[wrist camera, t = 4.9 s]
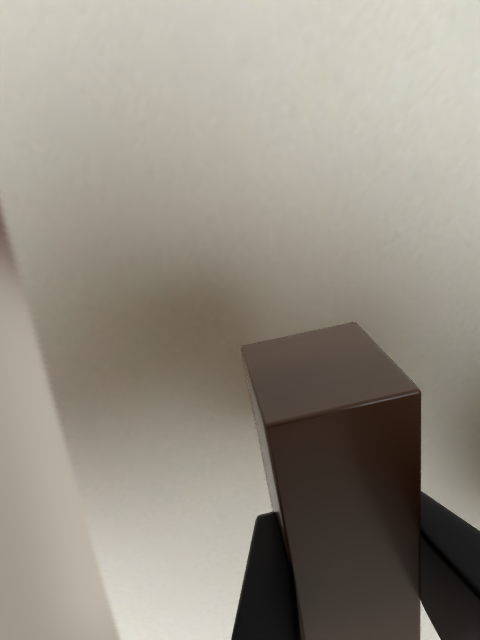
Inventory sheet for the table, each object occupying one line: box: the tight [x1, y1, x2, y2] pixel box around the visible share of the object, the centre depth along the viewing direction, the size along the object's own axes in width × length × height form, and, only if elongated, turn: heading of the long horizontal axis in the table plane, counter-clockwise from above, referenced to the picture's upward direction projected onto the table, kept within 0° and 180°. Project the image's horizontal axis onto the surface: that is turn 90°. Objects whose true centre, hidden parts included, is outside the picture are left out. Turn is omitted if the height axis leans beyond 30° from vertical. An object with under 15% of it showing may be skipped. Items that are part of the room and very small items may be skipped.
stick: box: [241, 322, 421, 640], centre depth 8 cm, size 7×2×2 cm, turn 10°
